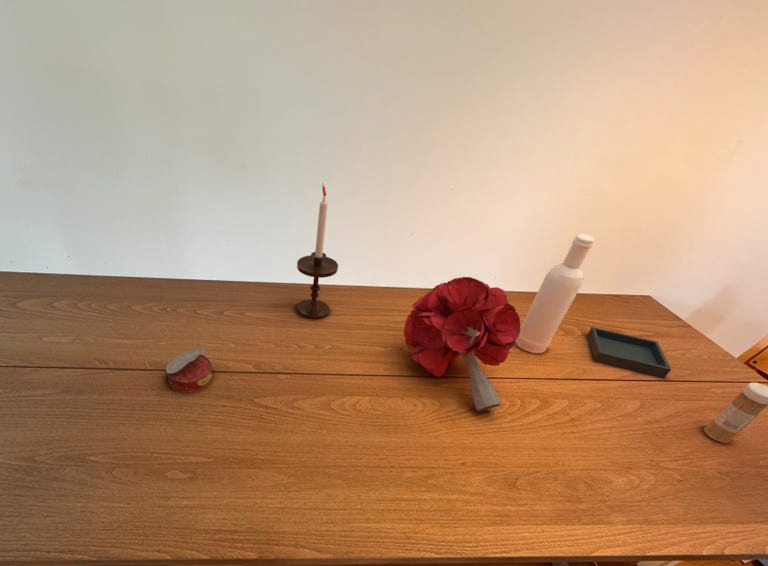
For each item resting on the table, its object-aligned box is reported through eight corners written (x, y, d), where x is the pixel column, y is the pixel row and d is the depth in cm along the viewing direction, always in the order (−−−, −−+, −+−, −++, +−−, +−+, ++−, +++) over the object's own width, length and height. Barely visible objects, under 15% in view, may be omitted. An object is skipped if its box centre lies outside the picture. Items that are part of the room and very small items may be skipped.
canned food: (184, 407, 95) (157, 385, 87) (175, 375, 101) (150, 352, 93) (227, 382, 94) (204, 358, 86) (215, 351, 100) (193, 327, 93)
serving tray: (651, 349, 113) (657, 341, 111) (664, 378, 104) (671, 369, 102) (586, 334, 117) (591, 326, 115) (593, 360, 108) (599, 352, 106)
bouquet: (504, 410, 102) (461, 301, 112) (576, 380, 80) (515, 248, 89) (422, 427, 98) (385, 313, 108) (474, 401, 76) (422, 261, 86)
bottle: (551, 346, 112) (611, 238, 93) (538, 357, 108) (598, 247, 89) (522, 332, 116) (574, 227, 97) (508, 342, 112) (559, 234, 93)
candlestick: (298, 322, 115) (308, 191, 93) (290, 301, 123) (298, 176, 101) (336, 319, 117) (355, 190, 95) (326, 299, 125) (341, 175, 103)
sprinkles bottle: (733, 439, 89) (784, 393, 80) (722, 446, 87) (773, 400, 78) (709, 424, 92) (755, 379, 83) (698, 431, 90) (744, 385, 82)
